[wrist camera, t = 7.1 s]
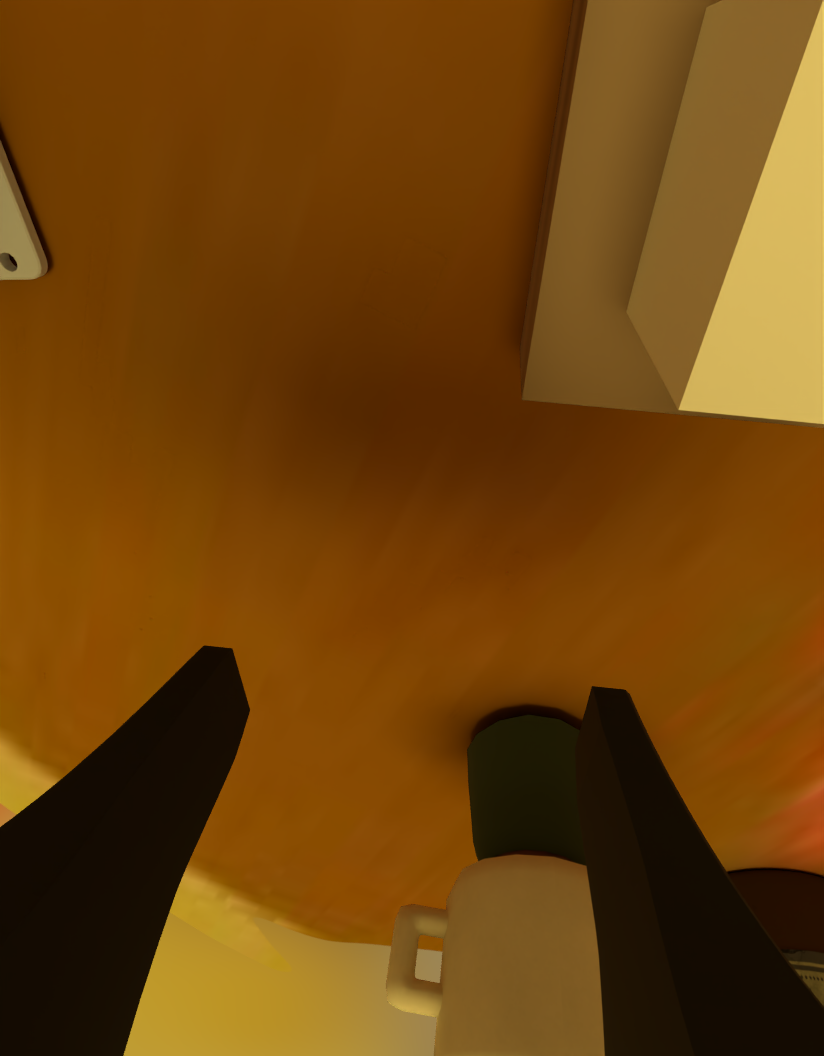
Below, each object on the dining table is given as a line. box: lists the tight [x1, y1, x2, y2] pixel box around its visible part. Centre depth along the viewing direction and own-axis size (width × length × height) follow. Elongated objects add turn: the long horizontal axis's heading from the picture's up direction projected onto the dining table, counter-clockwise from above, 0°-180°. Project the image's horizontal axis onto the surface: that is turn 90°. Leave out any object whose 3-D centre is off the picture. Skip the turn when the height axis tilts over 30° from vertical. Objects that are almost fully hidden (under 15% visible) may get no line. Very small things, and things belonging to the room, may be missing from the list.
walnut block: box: [520, 0, 824, 428], centre depth 13 cm, size 9×9×4 cm
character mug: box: [386, 715, 605, 1056], centre depth 23 cm, size 11×7×13 cm, turn 88°
